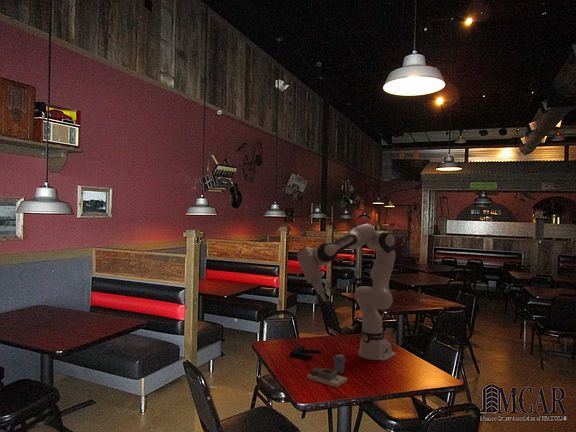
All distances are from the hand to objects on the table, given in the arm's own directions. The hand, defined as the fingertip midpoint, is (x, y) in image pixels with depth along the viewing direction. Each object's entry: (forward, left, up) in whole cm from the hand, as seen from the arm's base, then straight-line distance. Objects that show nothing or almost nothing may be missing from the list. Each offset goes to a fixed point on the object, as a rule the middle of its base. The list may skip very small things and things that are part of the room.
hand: (325, 300), depth 210 cm
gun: (-8, -22, -35) cm, 42 cm away
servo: (-3, +9, -34) cm, 36 cm away
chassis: (+10, +14, -34) cm, 38 cm away
